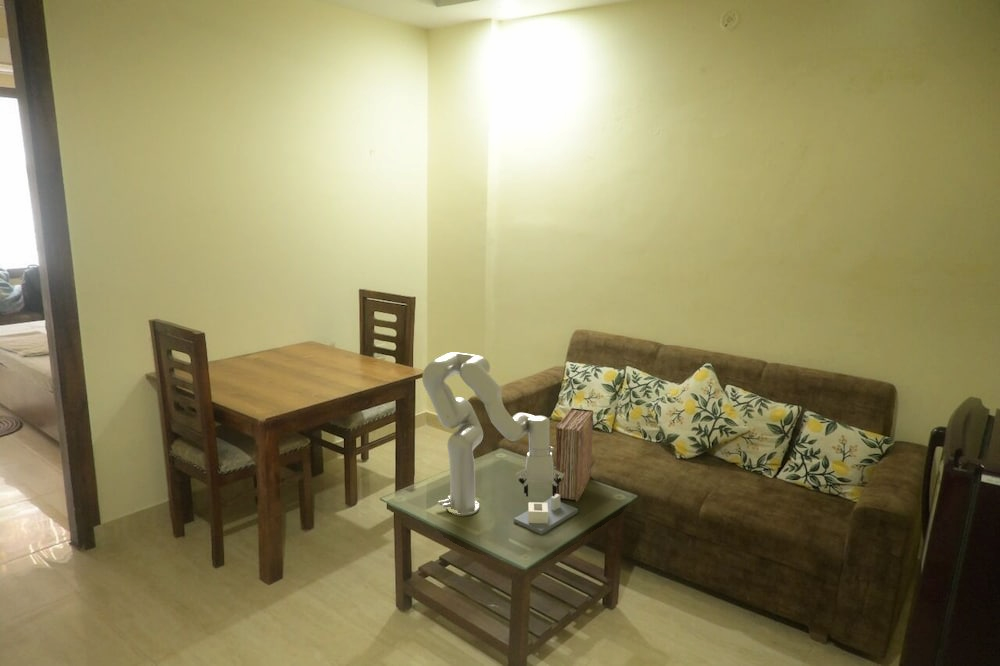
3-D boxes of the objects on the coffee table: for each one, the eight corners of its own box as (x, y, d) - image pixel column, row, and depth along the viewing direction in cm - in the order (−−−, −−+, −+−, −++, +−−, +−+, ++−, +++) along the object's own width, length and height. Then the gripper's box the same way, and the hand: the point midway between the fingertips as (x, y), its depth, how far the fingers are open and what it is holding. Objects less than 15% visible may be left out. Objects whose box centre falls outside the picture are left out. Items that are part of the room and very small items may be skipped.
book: (577, 502, 241) (579, 430, 235) (554, 498, 244) (555, 427, 238) (591, 476, 264) (593, 410, 258) (570, 473, 268) (571, 407, 262)
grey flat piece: (541, 534, 218) (541, 517, 216) (513, 522, 226) (513, 505, 225) (577, 512, 233) (578, 496, 232) (550, 501, 242) (551, 486, 241)
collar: (547, 523, 222) (548, 511, 221) (528, 522, 223) (528, 511, 222) (547, 513, 229) (547, 502, 228) (528, 513, 229) (528, 502, 229)
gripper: (563, 446, 224) (563, 490, 227) (515, 446, 225) (516, 490, 228) (564, 454, 216) (564, 499, 220) (515, 454, 217) (516, 499, 220)
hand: (540, 494), depth 224 cm, fingers open, 9 cm apart
